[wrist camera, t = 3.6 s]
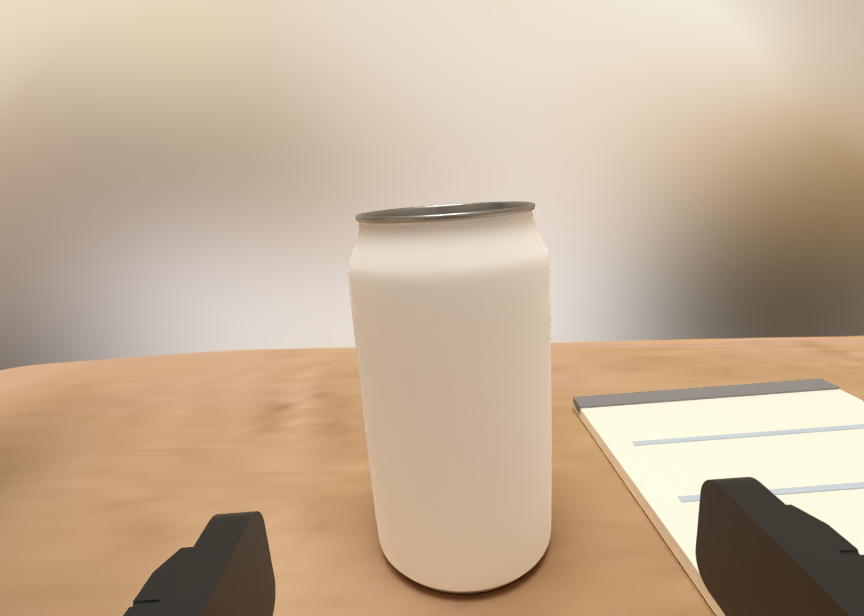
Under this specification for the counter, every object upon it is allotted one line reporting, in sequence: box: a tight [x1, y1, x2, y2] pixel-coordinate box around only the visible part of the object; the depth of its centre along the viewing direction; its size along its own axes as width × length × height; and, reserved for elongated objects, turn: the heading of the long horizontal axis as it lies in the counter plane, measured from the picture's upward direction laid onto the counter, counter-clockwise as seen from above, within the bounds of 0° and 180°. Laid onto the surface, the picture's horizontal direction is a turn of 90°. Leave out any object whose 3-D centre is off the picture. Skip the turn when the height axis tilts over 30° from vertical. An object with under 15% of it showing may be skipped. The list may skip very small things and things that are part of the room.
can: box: [349, 202, 552, 594], centre depth 17 cm, size 6×6×12 cm
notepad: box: [573, 379, 864, 616], centre depth 18 cm, size 14×18×1 cm
